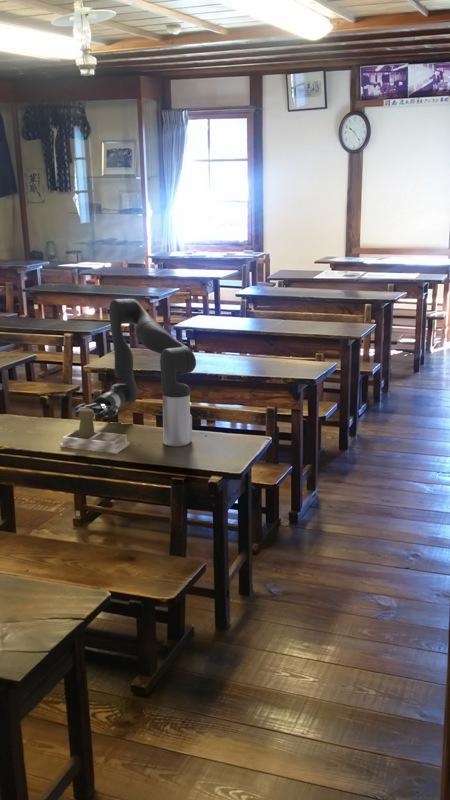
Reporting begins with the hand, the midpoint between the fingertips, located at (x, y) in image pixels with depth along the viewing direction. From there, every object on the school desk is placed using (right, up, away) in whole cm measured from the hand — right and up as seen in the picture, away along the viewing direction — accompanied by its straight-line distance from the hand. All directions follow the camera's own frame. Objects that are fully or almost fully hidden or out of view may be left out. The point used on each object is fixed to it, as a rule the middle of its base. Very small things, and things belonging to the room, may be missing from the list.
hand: (88, 415), depth 271 cm
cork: (0, -9, -2) cm, 9 cm away
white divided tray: (+3, -10, -4) cm, 11 cm away
